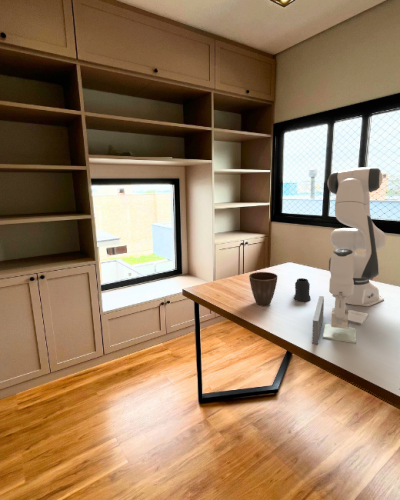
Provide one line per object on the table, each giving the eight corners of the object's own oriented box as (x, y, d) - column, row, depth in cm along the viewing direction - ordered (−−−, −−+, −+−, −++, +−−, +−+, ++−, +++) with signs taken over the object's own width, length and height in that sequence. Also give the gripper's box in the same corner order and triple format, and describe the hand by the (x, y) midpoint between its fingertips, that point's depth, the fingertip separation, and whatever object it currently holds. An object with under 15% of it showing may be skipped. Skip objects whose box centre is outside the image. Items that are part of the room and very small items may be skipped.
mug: (313, 301, 157) (313, 282, 155) (296, 302, 158) (296, 282, 155) (306, 293, 169) (306, 275, 167) (290, 294, 169) (290, 276, 167)
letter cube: (332, 320, 125) (332, 307, 124) (347, 322, 123) (348, 309, 121) (331, 326, 120) (331, 312, 119) (347, 329, 117) (348, 314, 116)
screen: (318, 315, 140) (319, 296, 138) (323, 316, 140) (323, 296, 138) (312, 343, 116) (312, 320, 114) (317, 344, 115) (318, 321, 113)
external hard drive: (341, 321, 134) (349, 312, 143) (361, 326, 128) (368, 316, 137) (341, 318, 134) (349, 309, 143) (361, 323, 128) (368, 313, 137)
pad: (325, 325, 130) (325, 323, 130) (355, 329, 125) (355, 328, 125) (322, 338, 120) (323, 336, 120) (355, 343, 114) (355, 341, 114)
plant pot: (277, 299, 164) (277, 272, 160) (277, 310, 150) (277, 280, 146) (251, 298, 168) (250, 271, 164) (248, 308, 154) (247, 279, 150)
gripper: (349, 298, 108) (348, 332, 110) (349, 282, 126) (348, 311, 128) (331, 296, 111) (330, 329, 113) (333, 280, 128) (332, 309, 131)
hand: (339, 320), depth 121 cm, fingers closed on letter cube, 6 cm apart
